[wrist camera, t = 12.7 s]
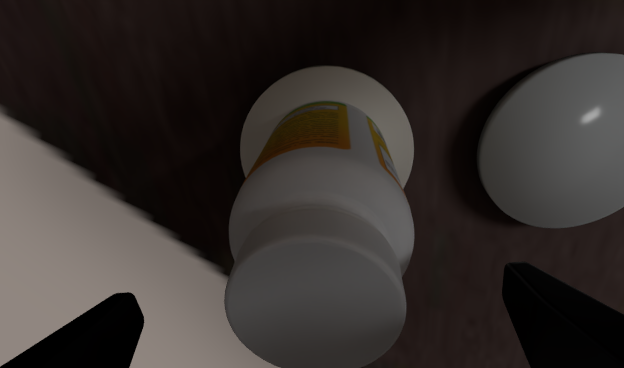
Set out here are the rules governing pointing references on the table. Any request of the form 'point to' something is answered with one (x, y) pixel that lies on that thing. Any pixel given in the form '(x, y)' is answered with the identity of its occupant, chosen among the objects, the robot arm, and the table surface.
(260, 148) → the dish
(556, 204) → the dish
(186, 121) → the table surface
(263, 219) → the supplement bottle
